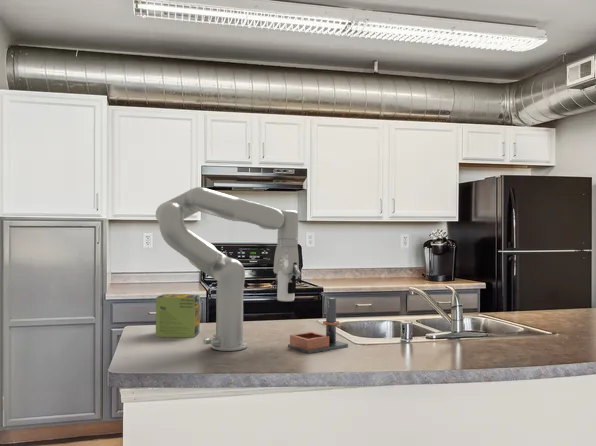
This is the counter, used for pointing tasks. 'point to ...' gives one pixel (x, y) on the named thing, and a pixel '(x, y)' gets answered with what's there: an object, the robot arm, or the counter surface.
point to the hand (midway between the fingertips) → (285, 291)
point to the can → (284, 288)
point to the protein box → (177, 315)
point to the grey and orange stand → (316, 341)
